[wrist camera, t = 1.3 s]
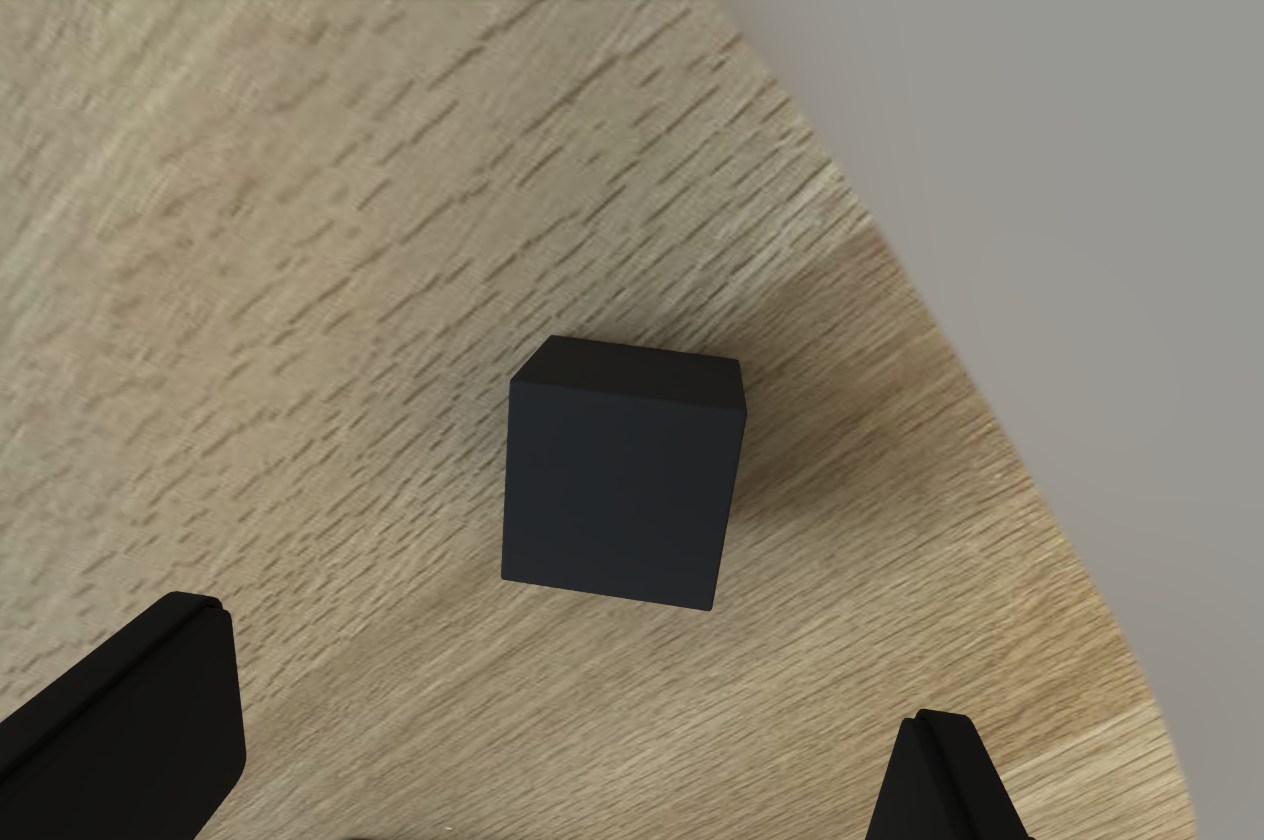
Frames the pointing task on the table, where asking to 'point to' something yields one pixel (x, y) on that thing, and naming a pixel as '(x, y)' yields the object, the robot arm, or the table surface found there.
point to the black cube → (621, 470)
